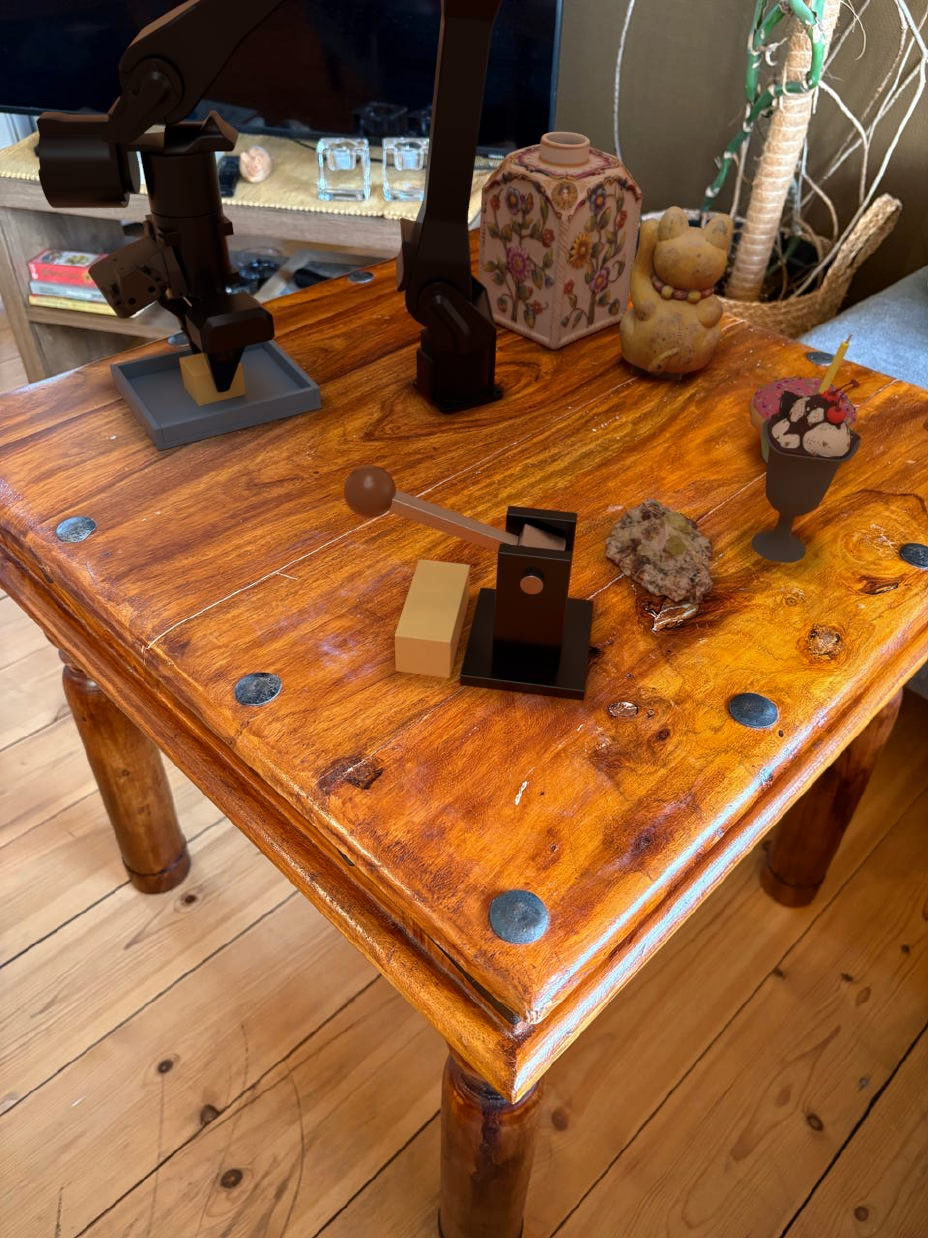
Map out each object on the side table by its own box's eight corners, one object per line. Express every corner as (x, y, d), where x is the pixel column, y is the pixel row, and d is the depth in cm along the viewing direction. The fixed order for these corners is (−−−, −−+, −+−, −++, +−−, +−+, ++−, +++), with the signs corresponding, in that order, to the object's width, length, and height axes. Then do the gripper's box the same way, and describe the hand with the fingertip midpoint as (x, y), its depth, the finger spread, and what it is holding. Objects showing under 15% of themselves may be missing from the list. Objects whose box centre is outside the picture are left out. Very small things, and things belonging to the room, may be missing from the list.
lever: (332, 516, 60) (345, 476, 58) (345, 487, 62) (358, 447, 60) (545, 597, 62) (565, 560, 59) (550, 565, 64) (569, 529, 62)
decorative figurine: (713, 355, 100) (744, 202, 90) (714, 395, 94) (748, 236, 84) (617, 346, 101) (637, 194, 91) (612, 385, 95) (633, 226, 85)
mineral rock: (584, 505, 75) (682, 470, 76) (592, 546, 79) (687, 512, 79) (635, 598, 68) (745, 558, 68) (642, 639, 71) (747, 601, 71)
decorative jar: (473, 314, 106) (478, 134, 94) (549, 286, 112) (562, 112, 100) (555, 354, 99) (571, 165, 87) (630, 321, 105) (655, 140, 94)
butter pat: (230, 376, 93) (226, 346, 91) (246, 394, 91) (242, 364, 89) (184, 387, 92) (178, 357, 90) (199, 406, 89) (193, 376, 87)
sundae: (826, 582, 73) (888, 399, 63) (733, 569, 74) (779, 387, 64) (820, 530, 78) (877, 353, 68) (733, 519, 79) (776, 342, 69)
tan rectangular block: (419, 597, 71) (418, 558, 68) (469, 603, 70) (470, 564, 68) (395, 674, 65) (394, 635, 62) (450, 681, 64) (450, 642, 62)
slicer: (459, 688, 64) (462, 569, 57) (479, 599, 71) (484, 484, 64) (583, 704, 63) (600, 585, 57) (592, 613, 70) (608, 497, 63)
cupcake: (847, 448, 87) (888, 318, 79) (831, 497, 81) (874, 362, 73) (750, 425, 90) (780, 297, 82) (727, 471, 84) (758, 338, 76)
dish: (266, 349, 99) (263, 329, 97) (321, 408, 90) (320, 387, 89) (114, 385, 93) (109, 364, 91) (158, 451, 84) (154, 429, 83)
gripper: (56, 186, 83) (98, 358, 93) (120, 264, 71) (160, 451, 81) (185, 167, 87) (211, 333, 98) (266, 237, 76) (286, 418, 86)
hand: (214, 380), depth 91 cm, fingers closed on butter pat, 4 cm apart
